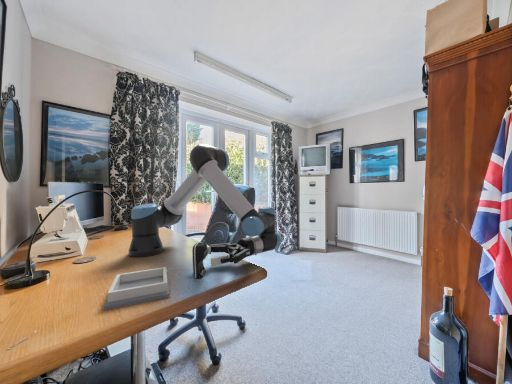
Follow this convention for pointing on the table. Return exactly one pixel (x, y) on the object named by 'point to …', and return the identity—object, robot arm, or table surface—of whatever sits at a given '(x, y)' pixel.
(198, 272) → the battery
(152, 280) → the tray
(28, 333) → the table surface
